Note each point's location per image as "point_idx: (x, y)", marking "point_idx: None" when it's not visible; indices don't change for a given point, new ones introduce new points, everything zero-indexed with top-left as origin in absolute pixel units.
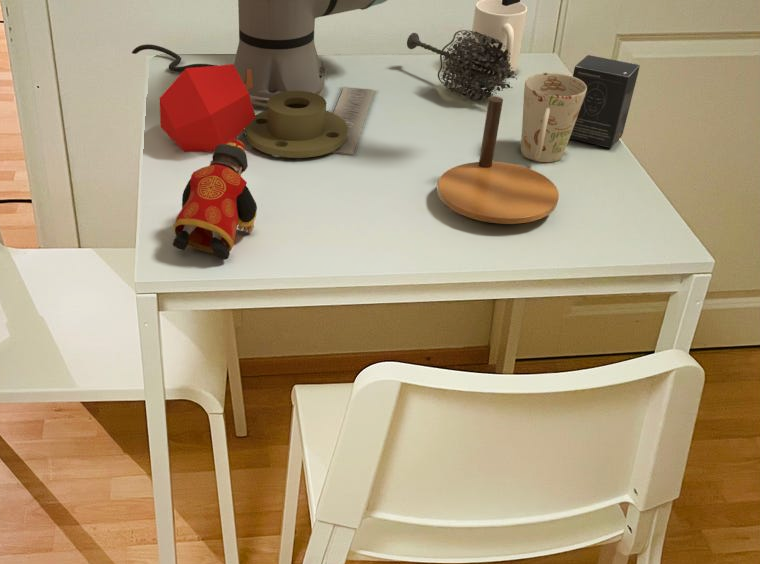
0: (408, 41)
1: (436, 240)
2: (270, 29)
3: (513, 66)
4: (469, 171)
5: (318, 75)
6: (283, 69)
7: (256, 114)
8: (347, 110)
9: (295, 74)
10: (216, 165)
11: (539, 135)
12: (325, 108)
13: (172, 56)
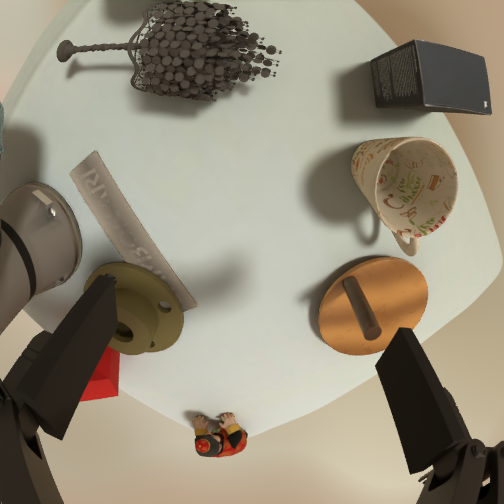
0: (62, 60)
1: (346, 365)
2: (19, 311)
3: None
4: (340, 303)
5: (57, 228)
6: (50, 281)
7: None
8: (114, 223)
9: (57, 269)
10: (213, 456)
11: (406, 253)
12: (144, 322)
13: None
